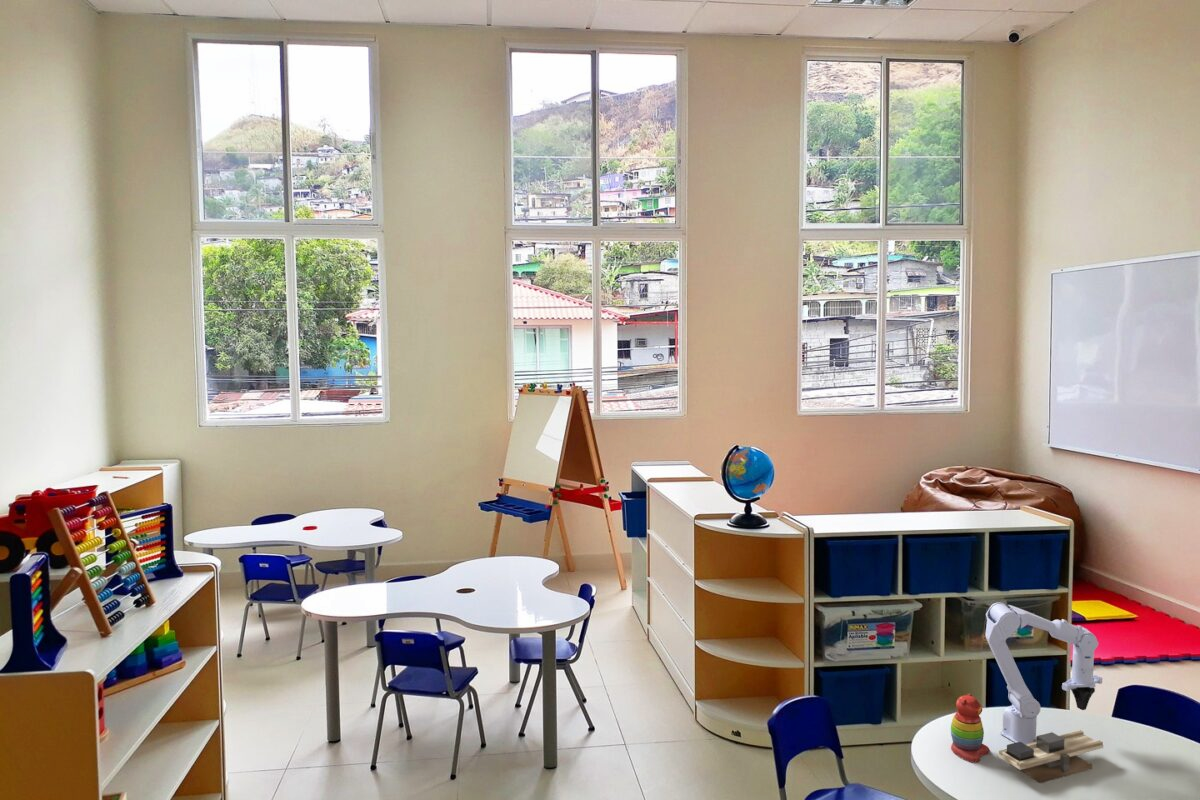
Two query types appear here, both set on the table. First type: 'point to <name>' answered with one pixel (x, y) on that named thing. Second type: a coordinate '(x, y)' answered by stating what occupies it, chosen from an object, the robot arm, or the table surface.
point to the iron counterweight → (1020, 751)
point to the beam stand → (1057, 768)
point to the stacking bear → (968, 730)
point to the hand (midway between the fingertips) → (1081, 708)
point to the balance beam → (1072, 746)
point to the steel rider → (1050, 743)
